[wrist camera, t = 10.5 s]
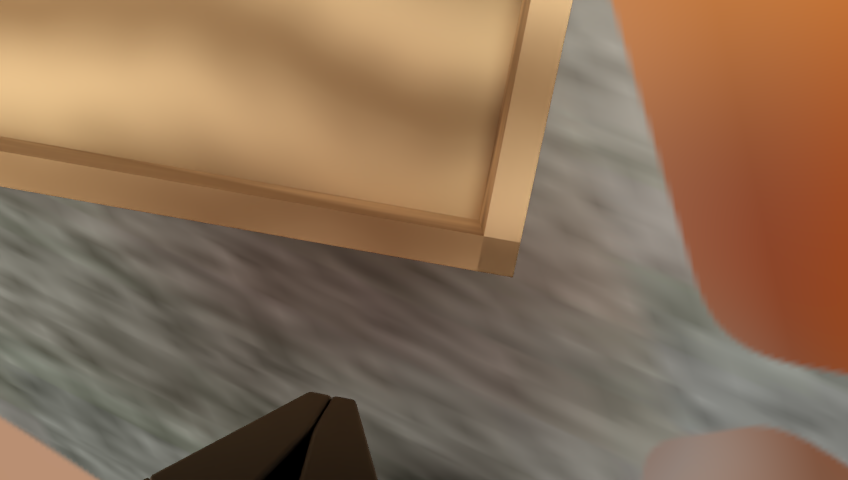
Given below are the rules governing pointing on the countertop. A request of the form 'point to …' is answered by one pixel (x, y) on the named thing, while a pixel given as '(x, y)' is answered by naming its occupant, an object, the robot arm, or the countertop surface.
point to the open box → (290, 115)
